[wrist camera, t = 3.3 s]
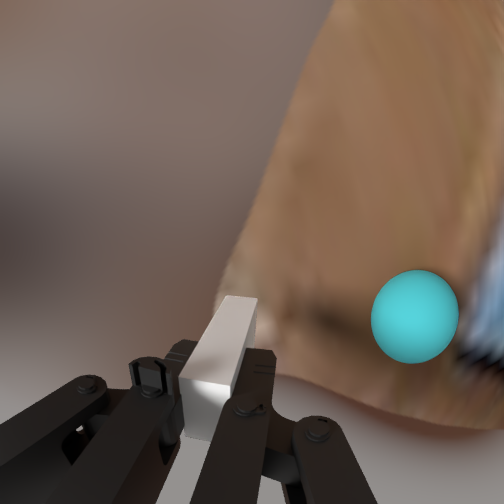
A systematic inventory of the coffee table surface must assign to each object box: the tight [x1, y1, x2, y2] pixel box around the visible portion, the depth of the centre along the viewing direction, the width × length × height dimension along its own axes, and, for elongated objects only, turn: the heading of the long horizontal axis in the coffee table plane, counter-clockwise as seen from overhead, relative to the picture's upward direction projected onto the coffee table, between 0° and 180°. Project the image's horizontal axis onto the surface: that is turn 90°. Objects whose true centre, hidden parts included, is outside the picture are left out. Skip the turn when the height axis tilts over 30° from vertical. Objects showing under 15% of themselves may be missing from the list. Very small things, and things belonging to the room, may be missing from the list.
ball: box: [371, 270, 459, 364], centre depth 15 cm, size 6×6×6 cm
